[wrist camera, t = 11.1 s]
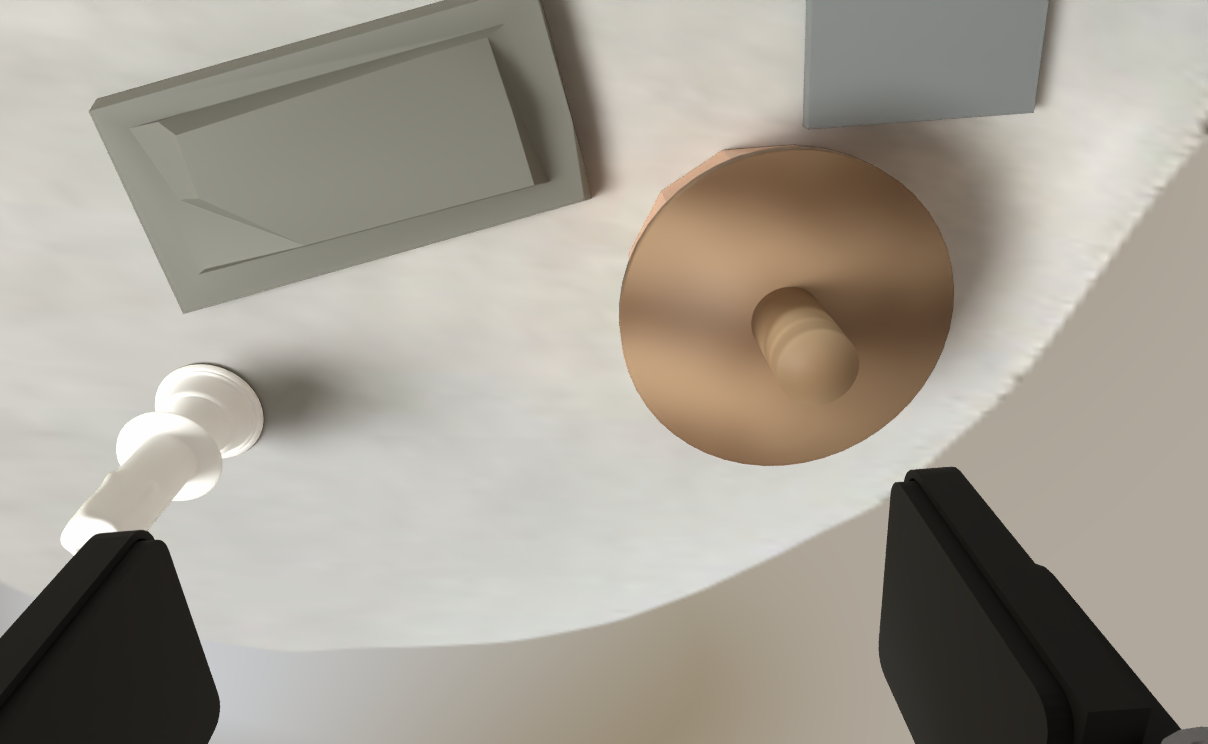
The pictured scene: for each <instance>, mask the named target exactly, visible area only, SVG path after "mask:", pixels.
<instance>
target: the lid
mask: <svg viewBox="0 0 1208 744" xmlns="http://www.w3.org/2000/svg"><path fill="white" fill-rule="evenodd" d="M953 297H954V285H953V275H952V267H951V263H950V259H949V255H948V251H947V247H946V245H945V243H944V240H943V238H942V235H941V233H940V231H939V228H938V227H937V225H936V223H935V222H934V220H933V219H932V217H931V215H930V214H929V212H928V211H927V209H926V208H925V207H924V206H923V205H922V203H921V202H920V201H919V200H918V199H917V198H916V196H915V195H914V194H913V193H911V192H910V191H909V190H908V189H907V188H906V187H905V186H903V185H902V184H901V183H900V182H899V181H897V180H896V179H894V178H893V177H891V176H890V175H888V174H886V173H885V172H883V171H882V170H880V169H878V168H877V167H875V166H873V165H871V164H869V163H867V162H865V161H862V160H860V159H858V158H856V157H853V156H851V155H848V154H845V153H841V152H837V151H834V150H830V149H824V148H817V147H809V146H783V147H775V148H768V149H761V150H757V151H754V152H750V153H747V154H743V155H739V156H737V157H734V158H732V159H729V160H727V161H725V162H722V163H720V164H718V165H716V166H714V167H712V168H710V169H709V170H707V171H705V172H704V173H702V174H700V175H698V176H697V177H695V178H694V179H693V180H691V181H690V182H689V183H687V184H686V185H685V186H683V187H682V188H681V189H680V190H678V191H677V192H676V193H675V194H674V195H673V196H672V197H671V198H670V199H669V200H668V201H667V202H666V203H665V204H664V205H663V206H662V207H661V208H660V210H659V211H658V212H657V213H656V215H655V216H654V217H653V218H652V220H651V221H650V222H649V223H648V225H647V227H646V228H645V230H644V232H643V233H642V235H641V237H640V238H639V240H638V242H637V243H636V246H635V248H634V250H633V252H632V255H631V257H630V259H629V262H628V265H627V268H626V271H625V275H624V278H623V282H622V288H621V295H620V302H619V326H620V333H621V341H622V348H623V354H624V358H625V361H626V365H627V368H628V372H629V374H630V377H631V379H632V381H633V383H634V386H635V388H636V390H637V392H638V393H639V395H640V396H641V398H642V400H643V401H644V403H645V404H646V406H647V407H648V408H649V410H650V411H651V412H652V413H653V414H654V416H655V417H656V418H657V419H658V420H659V421H660V422H661V423H662V424H663V425H664V426H665V427H666V428H667V429H669V430H670V431H671V432H672V433H673V434H674V435H676V436H677V437H679V438H680V439H682V440H683V441H685V442H686V443H688V444H689V445H691V446H693V447H695V448H697V449H699V450H701V451H703V452H705V453H707V454H710V455H713V456H716V457H719V458H721V459H724V460H729V461H733V462H738V463H742V464H751V465H761V466H779V465H791V464H798V463H805V462H809V461H813V460H817V459H821V458H825V457H827V456H830V455H833V454H836V453H838V452H841V451H844V450H846V449H848V448H850V447H852V446H854V445H856V444H858V443H860V442H862V441H863V440H865V439H866V438H868V437H870V436H871V435H873V434H874V433H876V432H877V431H879V430H880V429H882V428H883V427H884V426H885V425H886V424H888V423H889V422H890V421H891V420H893V419H894V418H895V417H896V416H897V415H898V414H899V413H900V412H901V411H902V410H903V409H904V408H905V407H906V406H907V405H908V404H909V403H910V402H911V401H912V400H913V398H914V397H915V396H916V395H917V393H918V392H919V391H920V390H921V388H922V387H923V386H924V384H925V382H926V381H927V379H928V378H929V376H930V374H931V373H932V371H933V369H934V368H935V366H936V363H937V361H938V359H939V357H940V355H941V353H942V350H943V348H944V345H945V342H946V338H947V335H948V332H949V329H950V323H951V317H952V312H953Z"/></svg>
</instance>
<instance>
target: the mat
mask: <svg viewBox="0 0 1208 744" xmlns="http://www.w3.org/2000/svg"><path fill="white" fill-rule="evenodd" d="M1048 3H1049V0H806V33H805V68H804V104H803V127H805V128H807V129H820V128H833V127H847V126H861V125H874V124H888V123H901V122H915V121H928V120H942V119H955V118H969V117H982V116H996V115H1010V114H1023V113H1034V106H1035V99H1036V91H1037V84H1038V77H1039V69H1040V62H1041V55H1042V47H1043V40H1044V33H1045V25H1046V18H1047V11H1048Z"/></svg>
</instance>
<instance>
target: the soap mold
mask: <svg viewBox="0 0 1208 744" xmlns="http://www.w3.org/2000/svg"><path fill="white" fill-rule="evenodd" d="M89 113H90V115H91V117H92V119H93V121H94V124H95V126H96V128H97V130H98V132H99V134H100V136H101V139H102V141H103V143H104V145H105V147H106V149H107V151H108V154H109V156H110V158H111V160H112V162H113V164H114V166H115V169H116V171H117V173H118V175H119V177H120V179H121V181H122V184H123V186H124V188H125V190H126V192H127V194H128V196H129V199H130V201H131V203H132V205H133V207H134V209H135V211H136V214H137V216H138V218H139V220H140V222H141V224H142V226H143V229H144V231H145V233H146V235H147V237H148V239H149V241H150V244H151V246H152V248H153V250H154V252H155V254H156V256H157V259H158V261H159V263H160V265H161V267H162V269H163V271H164V274H165V276H166V278H167V280H168V282H169V284H170V286H171V289H172V291H173V293H174V295H175V297H176V299H177V301H178V304H179V306H180V308H181V310H182V312H183V314H185V313H188V312H192V311H196V310H199V309H203V308H206V307H210V306H213V305H217V304H220V303H224V302H227V301H231V300H234V299H238V298H242V297H245V296H249V295H252V294H256V293H259V292H263V291H266V290H270V289H273V288H277V287H280V286H284V285H288V284H291V283H295V282H298V281H302V280H305V279H309V278H312V277H316V276H319V275H323V274H326V273H330V272H334V271H337V270H341V269H344V268H348V267H351V266H355V265H358V264H362V263H365V262H369V261H372V260H376V259H379V258H383V257H387V256H390V255H394V254H397V253H401V252H404V251H408V250H411V249H415V248H418V247H422V246H425V245H429V244H433V243H436V242H440V241H443V240H447V239H450V238H454V237H457V236H461V235H464V234H468V233H471V232H475V231H479V230H482V229H486V228H489V227H493V226H496V225H500V224H503V223H507V222H510V221H514V220H517V219H521V218H524V217H528V216H531V215H535V214H539V213H542V212H546V211H549V210H553V209H556V208H560V207H563V206H567V205H570V204H574V203H577V202H581V201H584V200H588V199H591V193H590V187H589V180H588V175H587V172H586V168H585V165H584V161H583V158H582V154H581V151H580V147H579V143H578V139H577V136H576V132H575V128H574V124H573V120H572V117H571V113H570V109H569V105H568V101H567V97H566V94H565V90H564V86H563V82H562V78H561V74H560V71H559V67H558V63H557V59H556V55H555V51H554V48H553V44H552V40H551V36H550V32H549V28H548V25H547V21H546V17H545V13H544V9H543V5H542V2H541V0H444V1H440V2H436V3H433V4H429V5H426V6H422V7H419V8H415V9H412V10H408V11H405V12H401V13H398V14H394V15H391V16H387V17H383V18H380V19H376V20H373V21H369V22H366V23H362V24H359V25H355V26H352V27H348V28H345V29H341V30H337V31H334V32H330V33H327V34H323V35H320V36H316V37H313V38H309V39H306V40H302V41H299V42H295V43H292V44H288V45H284V46H281V47H277V48H274V49H270V50H267V51H263V52H260V53H256V54H253V55H249V56H246V57H242V58H238V59H235V60H231V61H228V62H224V63H221V64H217V65H214V66H210V67H207V68H203V69H200V70H196V71H193V72H189V73H186V74H182V75H179V76H175V77H172V78H168V79H165V80H161V81H158V82H154V83H151V84H147V85H144V86H140V87H137V88H133V89H130V90H126V91H123V92H119V93H116V94H112V95H109V96H105V97H102V98H98V99H97V100H96V101H95V103H94V104H93V106H92V107H91V109H90V110H89Z"/></svg>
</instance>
